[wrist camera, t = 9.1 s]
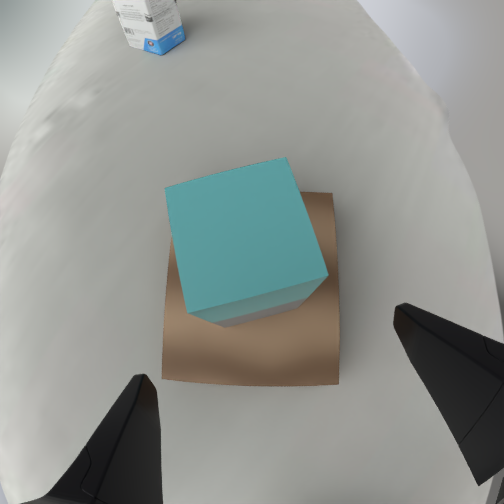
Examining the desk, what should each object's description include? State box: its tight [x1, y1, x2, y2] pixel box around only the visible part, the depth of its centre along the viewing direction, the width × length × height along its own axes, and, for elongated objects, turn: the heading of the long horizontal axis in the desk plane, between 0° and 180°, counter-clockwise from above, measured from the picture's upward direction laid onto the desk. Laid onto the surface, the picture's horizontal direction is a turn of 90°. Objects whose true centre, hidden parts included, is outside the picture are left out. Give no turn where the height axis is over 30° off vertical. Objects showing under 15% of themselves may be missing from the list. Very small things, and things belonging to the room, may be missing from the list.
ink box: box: [112, 0, 185, 55], centre depth 27 cm, size 9×5×15 cm, turn 52°
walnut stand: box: [162, 192, 340, 386], centre depth 21 cm, size 14×12×2 cm
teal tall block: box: [165, 157, 329, 328], centre depth 15 cm, size 5×5×10 cm
